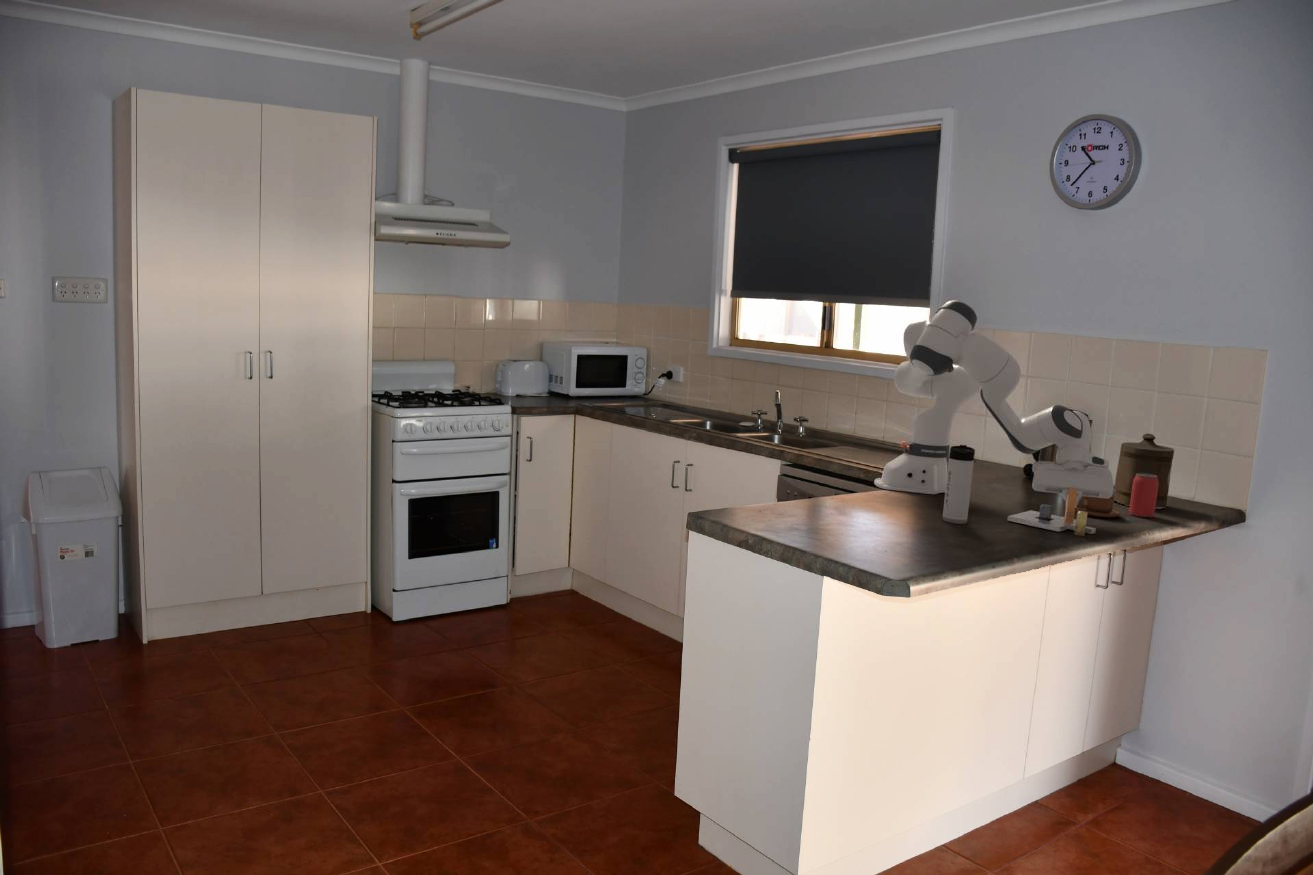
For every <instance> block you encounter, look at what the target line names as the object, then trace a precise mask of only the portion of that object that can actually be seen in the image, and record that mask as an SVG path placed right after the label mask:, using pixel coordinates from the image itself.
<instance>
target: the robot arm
mask: <svg viewBox="0 0 1313 875" xmlns="http://www.w3.org/2000/svg"><path fill="white" fill-rule="evenodd" d="M934 314H935V315H934V316H933V317H932V318H931V319H930V320H926V319H918V320H914V321H912V322H911V323H909V324H908V325H907V326H906V328H905V329H904V332H903V348H904V352H905V355H906V357H907V361H902V362H901V363H900V364H899V365H898V366H897V367H896V369H895V371H894V374H893V383H894V386H895V388H896V389H897V391H898V392H899V393H901V394H905V395H907V396H911V397H917V398H924V399H925V398H926V399H934V400H935V402H934V404H933V406H932V407H930V408H927V409H924V410H922V411H920V412H919V413H917V414H916V415H915V417H914V419H913V421H912V422H913V424H912V433H911V440H910V441H908V442H906V441H904V440H902V441H901V442H900V447H901V448H903V453H902V454H900V455H899V456H897V457H895V458H894V459H892V460H890V461H888V462H887V463H886V464H885V465H884V468H883V471H882V474H881V478H880V477H878V478H875V479H874V482H873V484H874V486H876V487H878V488H881V489H883V490H890V491H899V492H909V493H916V494H917V493H919V494H929V495H937V494H940V493H941V494H942V493H944V494H945V491H946V481H947V472H948V463H949V456H950V448H951V446H950V444H949V443H950V435H951V429H952V425H953V422H954V418H955V416H956V415H957V413H958V411H959V410H960V409H961V408H962V407H963V406H964V405H965V404H967V403H969V401H971V400H972V399H974V398H975V397H976V396H977V394H978V393H979V391H980V393H979V395H980V398H981V400H982V402H983V404H984V406H985V408H986V409H987V410H988V412H989V413H990V414H991V415H992V417H993V418H994V419H995V421H996V422H997V424H998V425H999V427H1000V428H1002V430H1003V432H1005V434H1006V436H1007V438H1008V440H1009V441H1010V443H1011V445H1012V447H1013V448H1014V449H1015V450H1016V451H1018V452H1020V453H1021V454H1025V455H1033V454H1034V453H1036V452H1038V451H1040V450H1042V449H1044V448H1046V447H1049V446H1051V445H1056V446H1057V451H1056V453H1055V454H1056V456H1055V459H1056V460H1055V461H1046V460H1045V461H1044V460H1038V461H1036V462H1034V463H1032V465H1031V466H1032V467H1031V469H1032V472H1033V478H1032V486H1031V488H1032V489H1033V490H1034V491H1036V492H1041V493H1042V492H1043V493H1053V494H1060V495H1061V497H1062V499H1063V500H1064V502H1065V503H1066V502H1067V495H1068V487H1073V488H1077V489H1078V490H1077V498H1076V506H1075V509H1076V508H1077V505H1079V500H1080V499H1081V497H1086V496H1088V497H1097V498H1106V499H1108V498H1110V497H1111V496H1112V495H1113V493H1114V486H1115V484H1114V479H1113V473H1112V471H1111V470H1110V469H1109V466H1110V465H1109V464H1110V462H1109V460H1107V459H1105V458H1102V457H1100V456H1097V455H1094V454H1093V453H1091V450H1090V449H1091V447H1092V446H1091V445H1092V430H1091V429H1092V428H1091V423H1090V420H1089V418H1088V416H1087V415H1086V414H1085V413H1083V412H1081V411H1078V410H1071V408H1068V407H1066V406H1064V405H1061V404H1055V405H1052V406H1051V407H1047V408H1045V409H1043V410H1041V411H1039V412H1036V413H1034V414H1032V415H1029V416H1027V417H1020V416H1018V415H1017V414H1016V412H1015V411H1014V410H1013V408H1012V407H1011V405H1010V404H1009V403H1008V402H1007V401H1006V400H1007V399H1008V397H1009V396H1010V395H1012V393H1013V392H1014V391H1015V390H1016V388H1017V386H1018V384H1019V383H1020V380H1021V376H1022V375H1021V367H1020V364H1019V361H1018V360H1016V358H1014V357H1013V356H1012V354H1010V352H1008V351H1007V350H1006V349H1005V348H1004V347H1003V345H1000V343H999V342H997V341H996V340H993V338H991V337H989V336H987V335H986V334H984V333H983V332H972V331H973V330H974V329H975V327H976V324H977V322H978V317H977V314H976V311H975V310H974V309H973V308H972V307H971V306H970V305H968V304H967V303H965V302H963V301H960V300H957V299H956V300H955V299H953V300H949V301H947V302H946V303H944V304H943V305H941V307H939V309H937V311H935V313H934ZM971 332H972V333H971Z"/></svg>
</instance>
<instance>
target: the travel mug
mask: <svg viewBox="0 0 1313 875" xmlns="http://www.w3.org/2000/svg"><path fill="white" fill-rule="evenodd" d="M975 454H976V450H975V449H974V448H973V447H971V446H967V445H966V444H959V445H953V446H952V445H951V446H950V453H949V460H948V463H947V481H946V491H945V492H944V501H943V511H942V513H943V514H942V520H943V521H944V522H945V523H950V524H954V525H957V524H959V525H965V524H967V522H968V517H969V508H970V500H971V499H970V498H971V490H972V489H971V488H972V484H973V482H972V480H973V472H974V465H975V464H974V463H975Z"/></svg>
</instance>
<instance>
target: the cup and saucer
mask: <svg viewBox="0 0 1313 875" xmlns="http://www.w3.org/2000/svg"><path fill="white" fill-rule="evenodd" d="M1083 500H1084V504H1082V501H1083ZM1075 510H1077V511H1084V512H1087V513H1088V514H1087V516H1090V517H1094V518H1095V517H1096V518H1102V517H1103V518H1102V519H1104V518H1106V519H1107V518H1108V519H1109V518H1110V519H1111V518H1112V519H1113V518H1117V517H1119V516H1121V513H1122V511H1121V510H1119V509H1116V508H1114V496H1113V494H1112V496H1111V497H1110V498H1108V499H1106V498H1097V497H1088V496H1082V497H1081V499H1080V500H1079V502H1078V504H1077V508H1075Z"/></svg>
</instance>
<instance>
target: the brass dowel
mask: <svg viewBox="0 0 1313 875" xmlns="http://www.w3.org/2000/svg"><path fill="white" fill-rule="evenodd" d="M1087 514H1088V513H1087V512H1084V511H1078V510H1077V512H1076V519H1075V520H1076V527H1075V530H1074V535H1076V536H1080V537H1085V534H1086V533H1085V529H1086V526H1087V520H1088V515H1087Z"/></svg>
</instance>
